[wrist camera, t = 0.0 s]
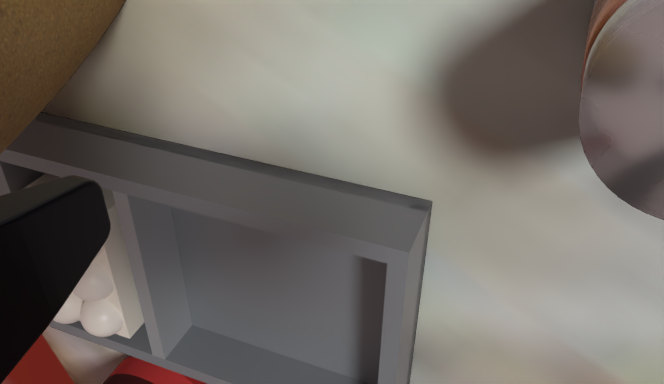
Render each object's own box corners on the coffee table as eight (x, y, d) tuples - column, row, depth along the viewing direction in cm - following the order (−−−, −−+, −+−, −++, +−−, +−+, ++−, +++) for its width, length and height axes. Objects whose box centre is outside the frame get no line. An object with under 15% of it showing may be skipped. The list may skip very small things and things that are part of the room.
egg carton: (164, 298, 34) (115, 355, 31) (94, 276, 36) (39, 327, 33) (140, 183, 30) (78, 235, 27) (60, 162, 31) (-7, 209, 28)
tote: (408, 392, 32) (388, 449, 29) (90, 288, 38) (50, 326, 36) (432, 201, 25) (409, 252, 22) (36, 111, 31) (-20, 142, 28)
